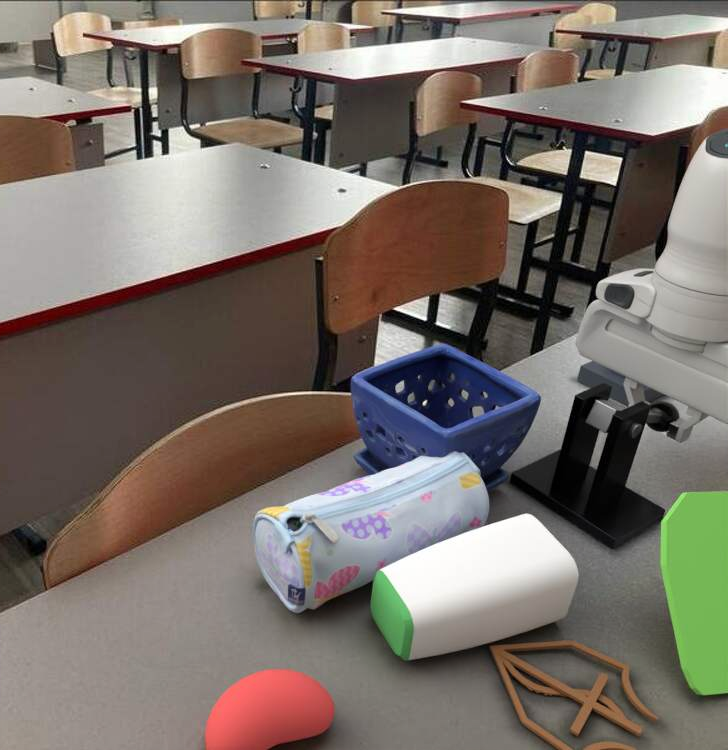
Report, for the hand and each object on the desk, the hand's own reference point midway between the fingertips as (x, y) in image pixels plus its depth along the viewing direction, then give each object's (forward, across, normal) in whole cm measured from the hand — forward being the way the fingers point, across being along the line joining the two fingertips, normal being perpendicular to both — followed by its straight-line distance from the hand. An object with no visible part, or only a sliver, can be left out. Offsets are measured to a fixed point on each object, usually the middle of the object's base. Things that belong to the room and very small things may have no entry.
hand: (655, 427), depth 82 cm
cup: (+2, -3, +40) cm, 40 cm away
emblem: (+4, -14, +31) cm, 34 cm away
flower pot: (+6, +10, +21) cm, 24 cm away
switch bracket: (+5, 0, +10) cm, 11 cm away
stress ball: (+2, -7, +54) cm, 54 cm away
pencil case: (+5, +5, +35) cm, 35 cm away
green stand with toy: (0, -17, +15) cm, 23 cm away
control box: (+5, +11, -15) cm, 20 cm away
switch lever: (-1, 0, +5) cm, 5 cm away
